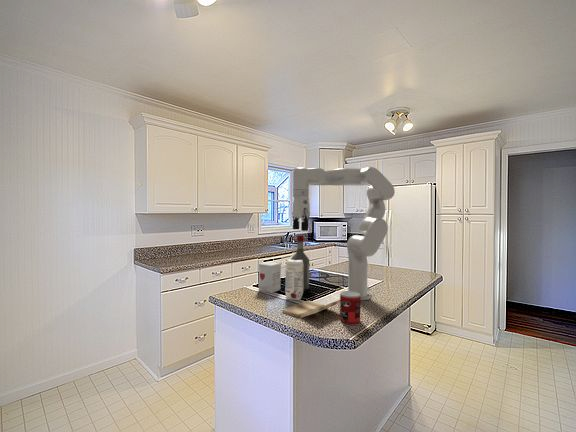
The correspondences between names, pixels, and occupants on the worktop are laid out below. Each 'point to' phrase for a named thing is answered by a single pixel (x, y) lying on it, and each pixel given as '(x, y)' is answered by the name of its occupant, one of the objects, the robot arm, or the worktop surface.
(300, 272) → the juice carton
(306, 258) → the liquor
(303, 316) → the plank
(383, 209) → the robot arm
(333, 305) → the plank
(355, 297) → the canned food
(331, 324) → the worktop surface
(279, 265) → the supplement box
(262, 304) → the worktop surface
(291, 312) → the brown wooden board
